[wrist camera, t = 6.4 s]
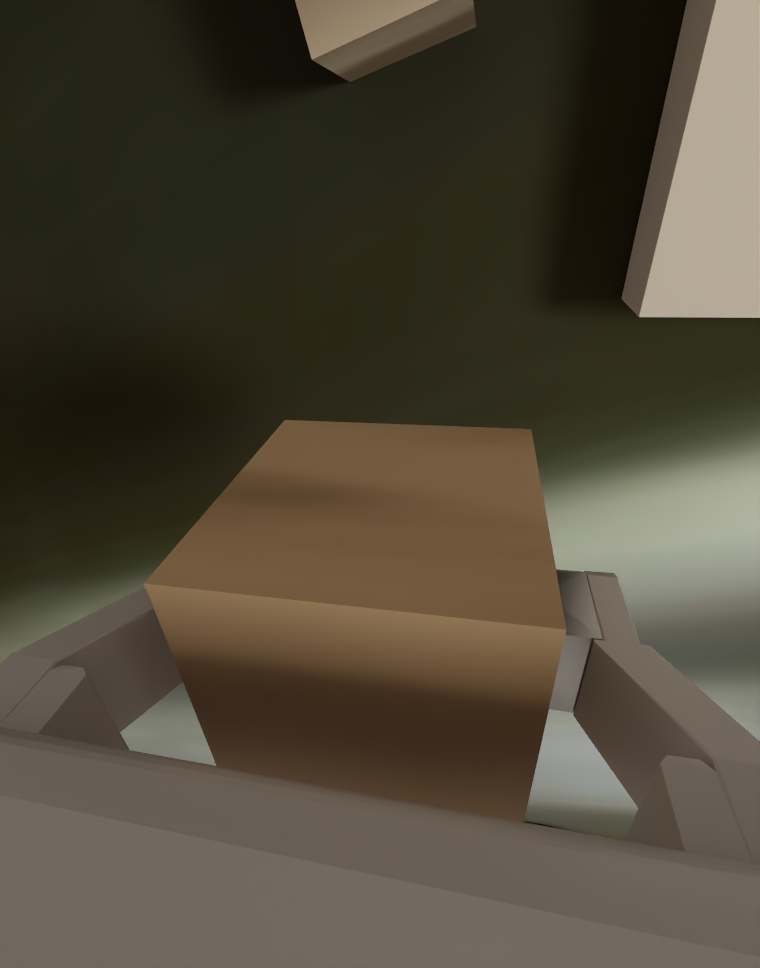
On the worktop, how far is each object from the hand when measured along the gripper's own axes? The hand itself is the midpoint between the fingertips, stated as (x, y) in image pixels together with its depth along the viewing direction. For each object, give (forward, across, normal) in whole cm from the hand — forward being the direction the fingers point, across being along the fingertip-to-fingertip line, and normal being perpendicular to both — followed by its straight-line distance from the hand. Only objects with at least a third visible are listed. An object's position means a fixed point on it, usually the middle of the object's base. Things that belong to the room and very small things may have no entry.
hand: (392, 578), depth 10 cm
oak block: (+2, 0, 0) cm, 2 cm away
